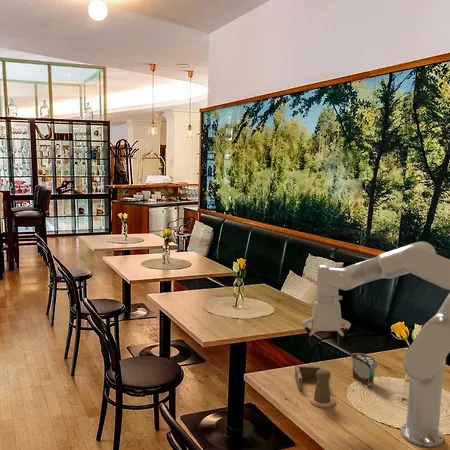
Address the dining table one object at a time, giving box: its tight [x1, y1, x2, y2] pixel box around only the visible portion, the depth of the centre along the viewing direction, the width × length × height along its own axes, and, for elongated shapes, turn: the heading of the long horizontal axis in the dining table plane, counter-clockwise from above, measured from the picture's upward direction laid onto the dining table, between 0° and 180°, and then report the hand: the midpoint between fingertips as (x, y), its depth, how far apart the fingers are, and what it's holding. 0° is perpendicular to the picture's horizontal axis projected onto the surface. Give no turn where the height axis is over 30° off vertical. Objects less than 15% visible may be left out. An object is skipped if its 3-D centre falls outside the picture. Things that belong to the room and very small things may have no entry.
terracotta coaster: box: [309, 393, 336, 409], centre depth 174 cm, size 9×9×1 cm
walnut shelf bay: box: [294, 365, 324, 391], centre depth 188 cm, size 11×11×5 cm
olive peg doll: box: [313, 368, 331, 403], centre depth 173 cm, size 6×6×11 cm
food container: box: [351, 352, 378, 388], centre depth 191 cm, size 12×6×10 cm, turn 22°
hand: (325, 345), depth 172 cm, fingers open, 9 cm apart
